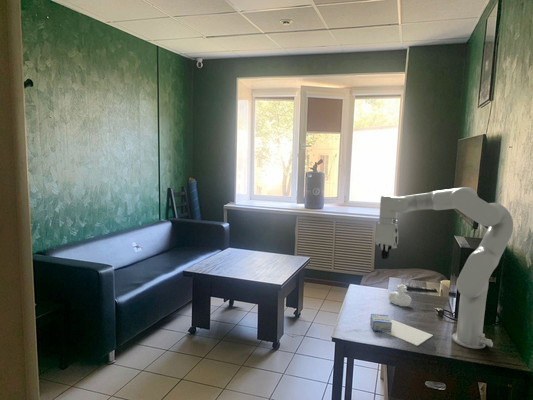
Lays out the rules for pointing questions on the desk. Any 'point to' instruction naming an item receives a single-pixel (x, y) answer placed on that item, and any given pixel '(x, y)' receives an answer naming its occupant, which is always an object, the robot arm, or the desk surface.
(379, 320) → the medicine box
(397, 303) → the bust
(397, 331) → the mat
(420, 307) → the desk surface
